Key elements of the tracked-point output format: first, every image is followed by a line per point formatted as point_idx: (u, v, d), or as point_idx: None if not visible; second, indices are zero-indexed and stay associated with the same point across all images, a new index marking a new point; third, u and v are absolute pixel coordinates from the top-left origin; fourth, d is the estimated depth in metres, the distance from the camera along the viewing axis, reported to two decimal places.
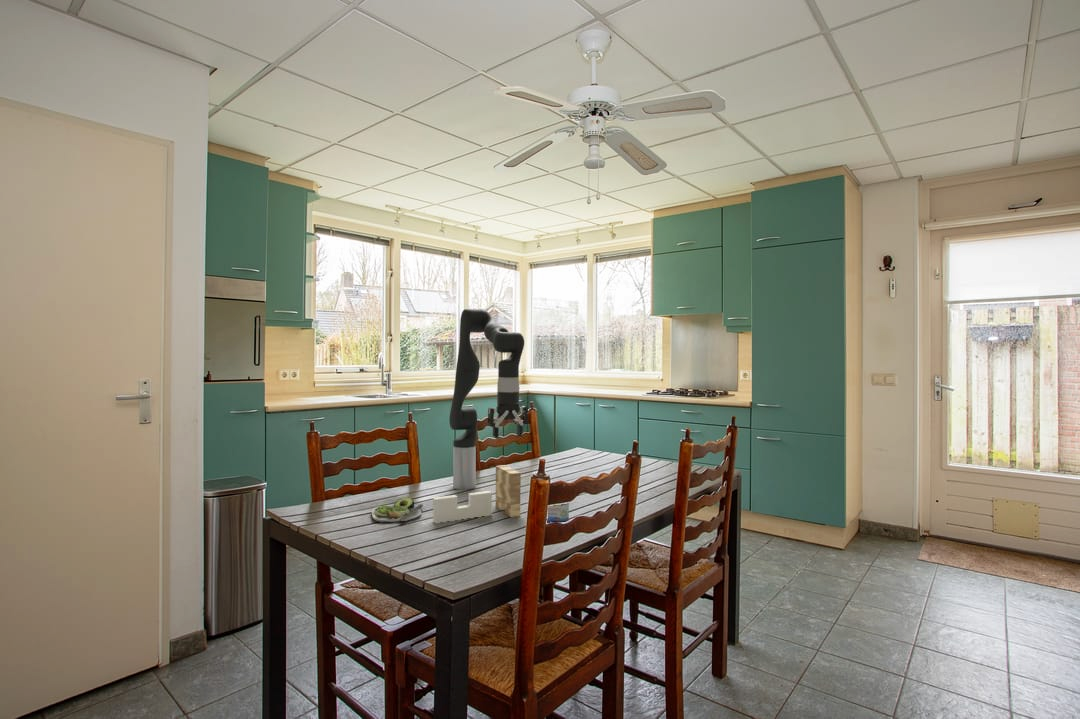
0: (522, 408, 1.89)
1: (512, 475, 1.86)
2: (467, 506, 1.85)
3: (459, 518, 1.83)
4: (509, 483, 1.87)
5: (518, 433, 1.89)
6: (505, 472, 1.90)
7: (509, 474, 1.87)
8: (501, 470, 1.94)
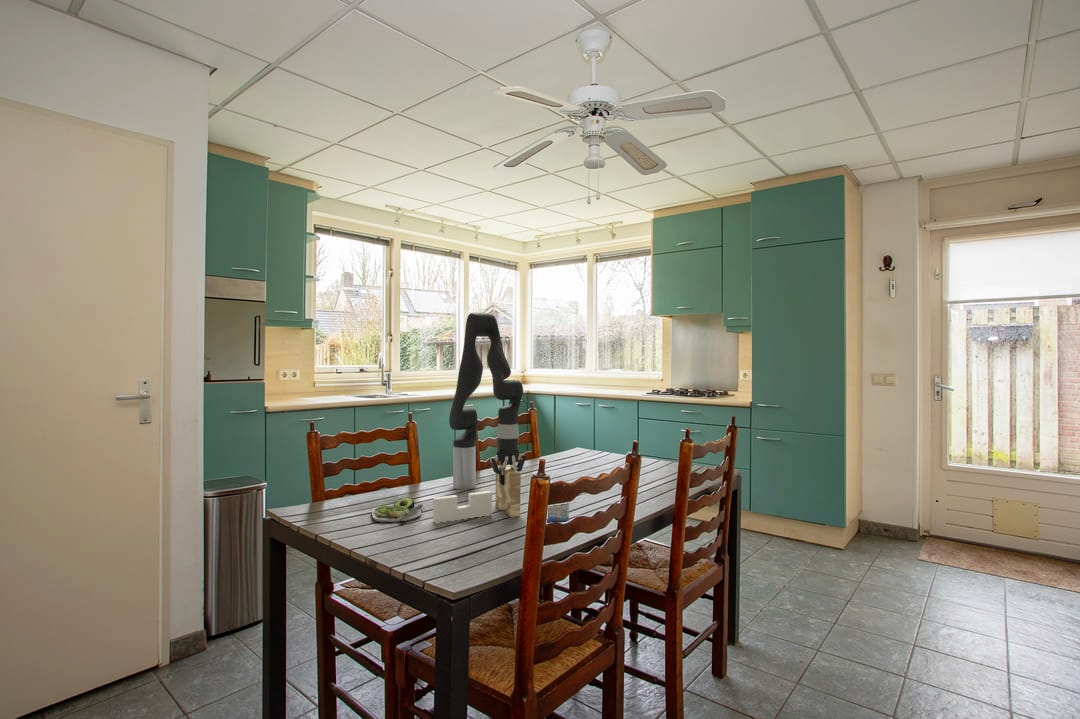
0: (521, 455, 1.95)
1: (512, 475, 1.86)
2: (467, 506, 1.85)
3: (459, 518, 1.83)
4: (509, 483, 1.87)
5: None
6: (505, 472, 1.90)
7: (509, 474, 1.87)
8: None
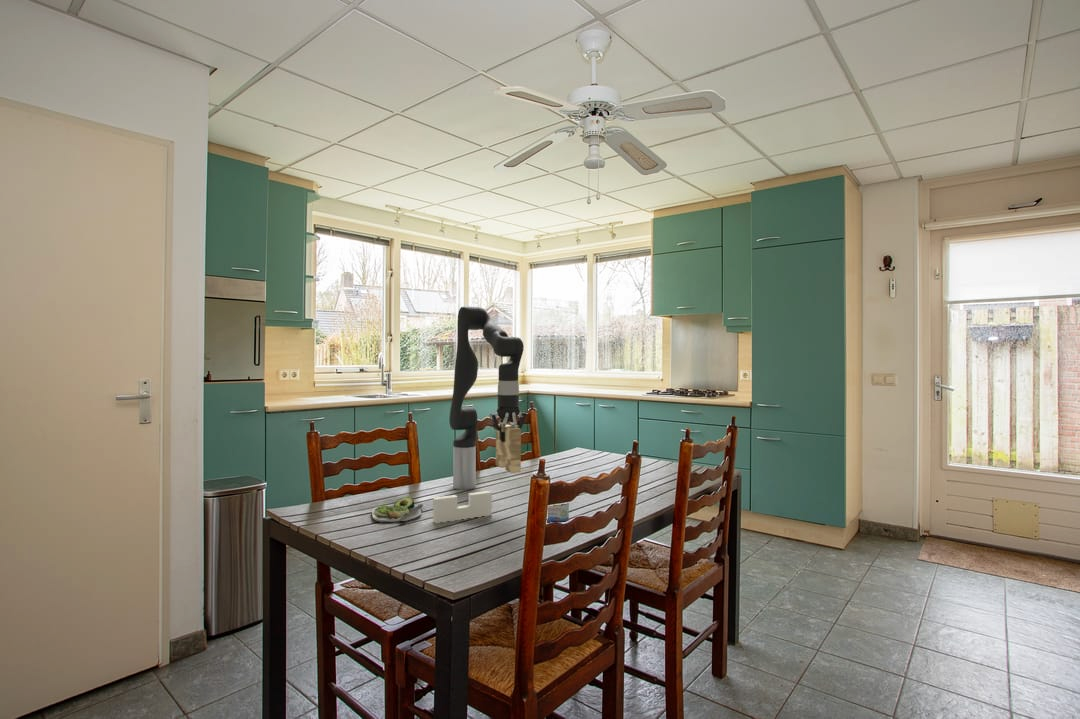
0: (521, 413, 1.94)
1: (512, 431, 1.86)
2: (467, 506, 1.85)
3: (459, 518, 1.83)
4: (509, 439, 1.87)
5: None
6: (505, 429, 1.90)
7: (509, 430, 1.87)
8: None
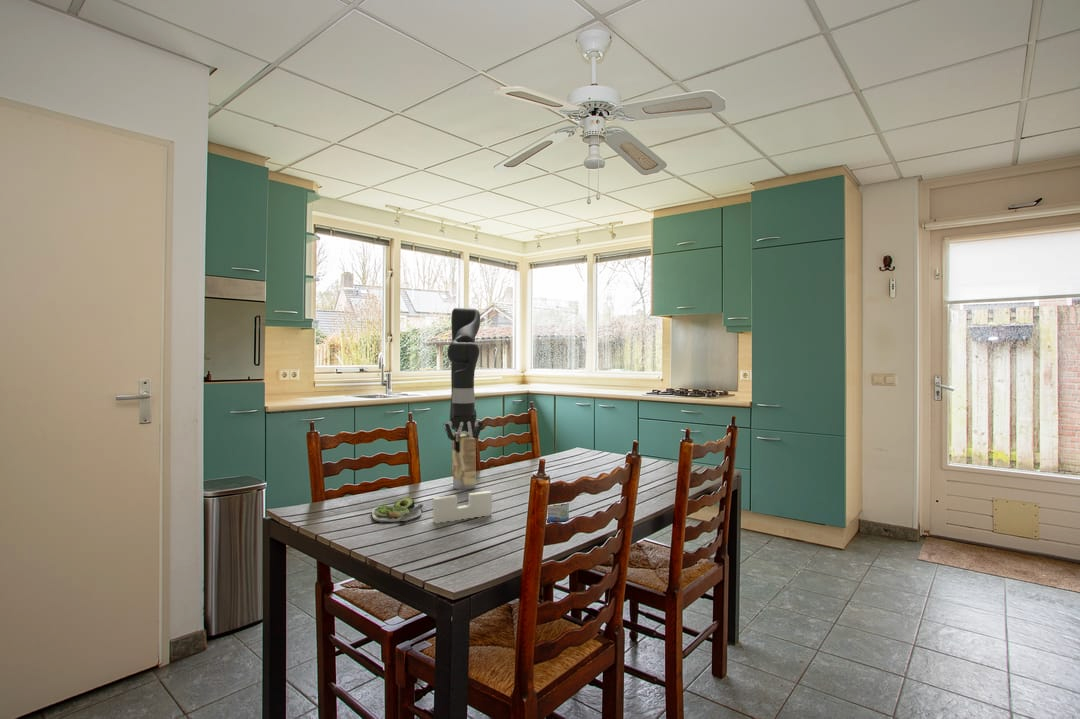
0: (478, 422, 1.86)
1: (466, 441, 1.77)
2: (467, 506, 1.85)
3: (459, 518, 1.83)
4: (463, 449, 1.79)
5: None
6: (460, 438, 1.82)
7: (463, 440, 1.79)
8: None
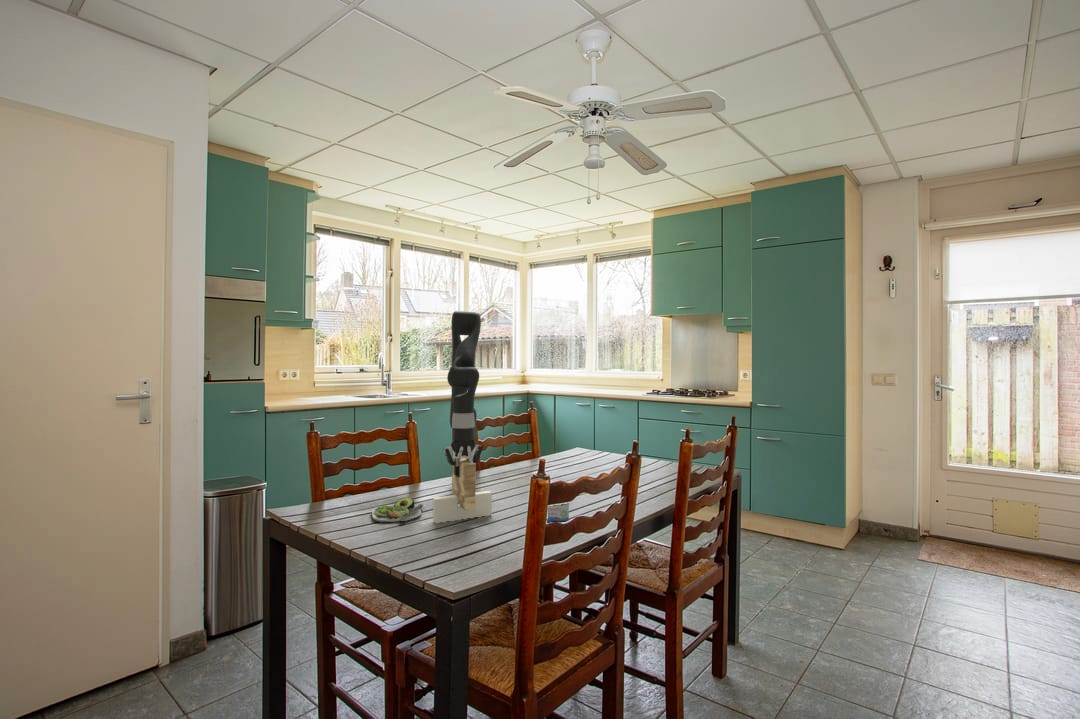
0: (477, 446, 1.86)
1: (466, 466, 1.77)
2: None
3: (459, 518, 1.83)
4: (463, 475, 1.79)
5: None
6: (460, 463, 1.82)
7: (463, 465, 1.79)
8: None
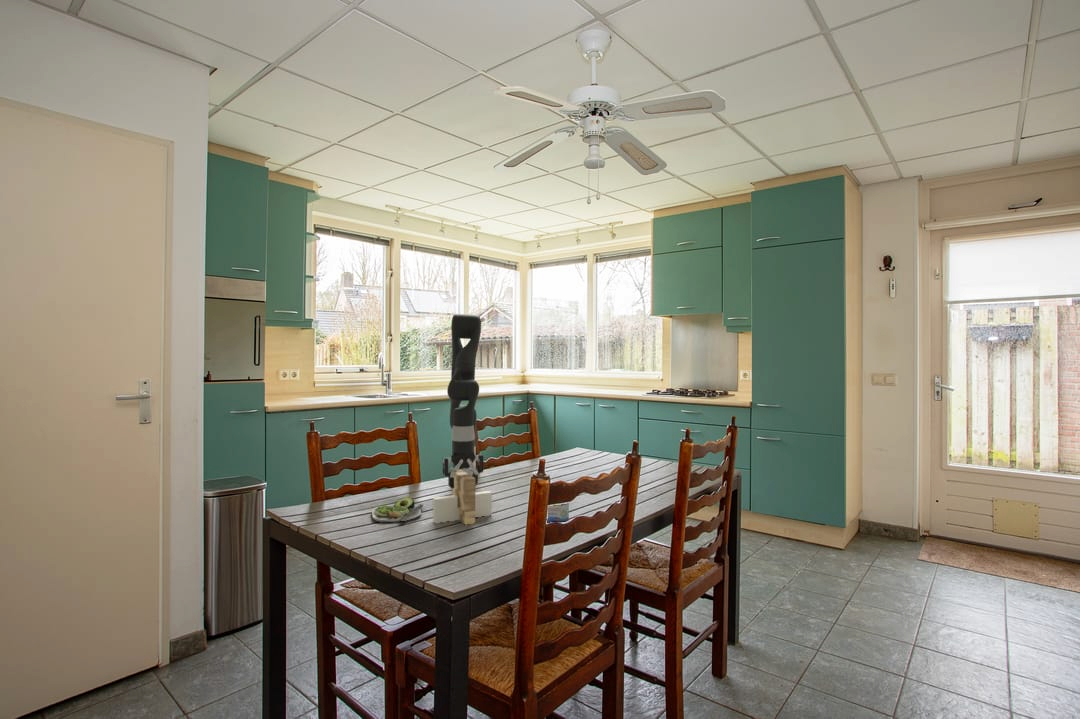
0: (478, 456, 1.86)
1: (466, 481, 1.78)
2: None
3: (459, 518, 1.83)
4: (463, 489, 1.79)
5: None
6: (460, 478, 1.82)
7: (463, 480, 1.79)
8: (457, 475, 1.85)
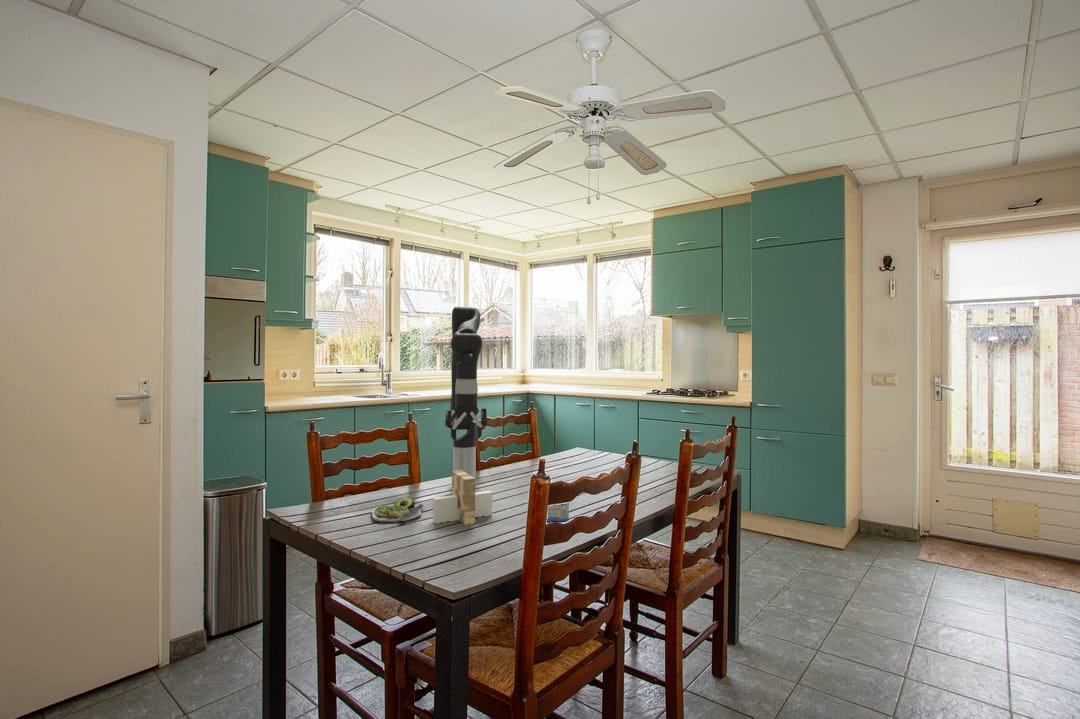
0: (481, 410, 1.88)
1: (466, 481, 1.78)
2: None
3: (459, 518, 1.83)
4: (463, 489, 1.79)
5: (477, 435, 1.88)
6: (460, 478, 1.82)
7: (463, 480, 1.79)
8: (456, 475, 1.85)
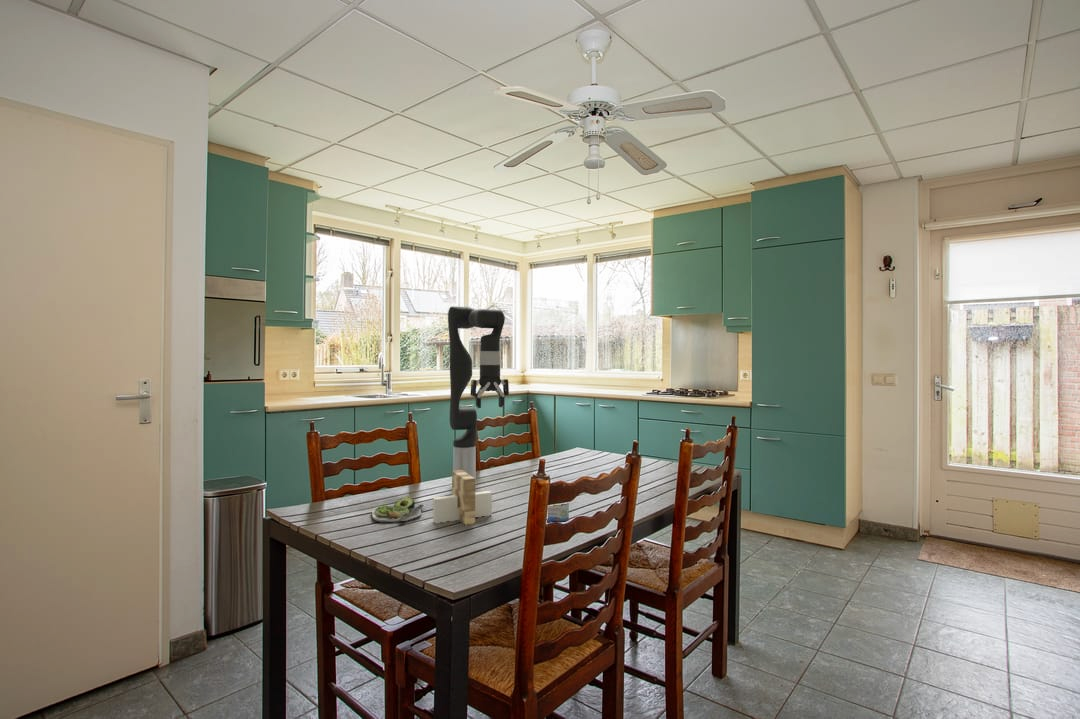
0: (503, 380, 2.02)
1: (466, 481, 1.78)
2: None
3: (459, 518, 1.83)
4: (463, 489, 1.79)
5: (499, 404, 2.02)
6: (460, 478, 1.82)
7: (463, 480, 1.79)
8: (456, 475, 1.85)
